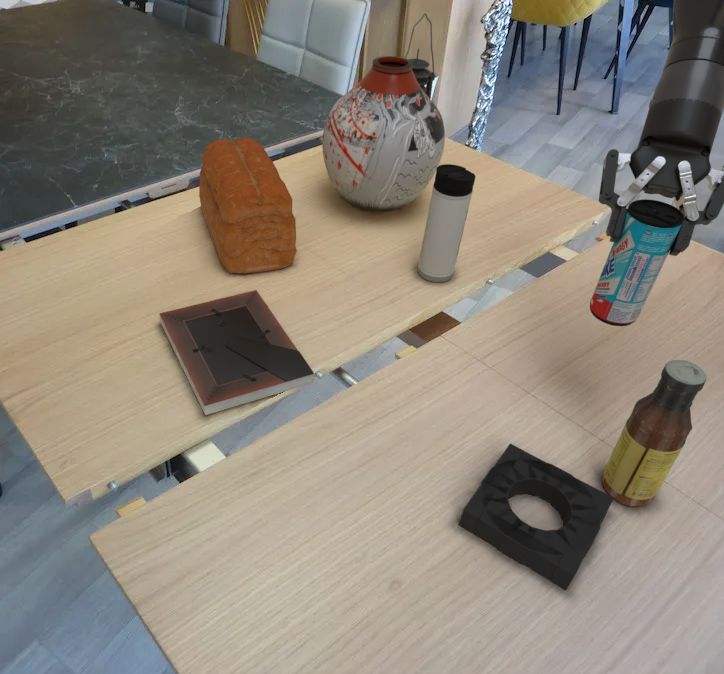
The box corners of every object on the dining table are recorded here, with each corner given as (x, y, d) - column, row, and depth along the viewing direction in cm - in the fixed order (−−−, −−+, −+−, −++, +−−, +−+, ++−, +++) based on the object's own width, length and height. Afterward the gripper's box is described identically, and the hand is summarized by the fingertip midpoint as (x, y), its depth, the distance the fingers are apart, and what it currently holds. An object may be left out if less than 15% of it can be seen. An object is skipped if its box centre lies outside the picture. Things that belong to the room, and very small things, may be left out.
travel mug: (408, 268, 119) (427, 164, 106) (438, 259, 122) (459, 156, 109) (430, 287, 115) (452, 181, 102) (460, 277, 117) (485, 172, 104)
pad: (607, 512, 80) (615, 497, 78) (566, 592, 72) (575, 577, 71) (503, 457, 87) (509, 441, 85) (456, 524, 79) (461, 509, 77)
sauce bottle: (659, 487, 83) (733, 372, 70) (642, 518, 80) (716, 403, 67) (607, 459, 87) (669, 344, 74) (588, 488, 83) (649, 373, 70)
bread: (263, 196, 138) (264, 126, 128) (300, 268, 119) (304, 191, 109) (197, 203, 135) (192, 132, 126) (223, 278, 116) (220, 201, 106)
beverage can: (606, 294, 89) (648, 194, 79) (646, 318, 85) (695, 216, 76) (577, 309, 87) (617, 207, 77) (617, 334, 83) (664, 230, 73)
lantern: (407, 136, 162) (427, 2, 143) (438, 152, 156) (464, 14, 136) (368, 148, 157) (384, 11, 137) (399, 165, 150) (420, 24, 131)
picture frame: (313, 385, 96) (256, 300, 111) (314, 372, 95) (256, 288, 109) (205, 417, 91) (160, 324, 106) (204, 404, 89) (159, 312, 104)
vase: (422, 176, 146) (446, 43, 128) (440, 232, 129) (471, 87, 110) (316, 173, 146) (325, 40, 128) (320, 229, 129) (330, 83, 111)
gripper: (625, 86, 77) (583, 224, 76) (767, 107, 72) (724, 254, 72) (613, 114, 84) (574, 241, 83) (741, 135, 79) (701, 269, 79)
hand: (644, 246), depth 78 cm, fingers closed on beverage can, 6 cm apart
